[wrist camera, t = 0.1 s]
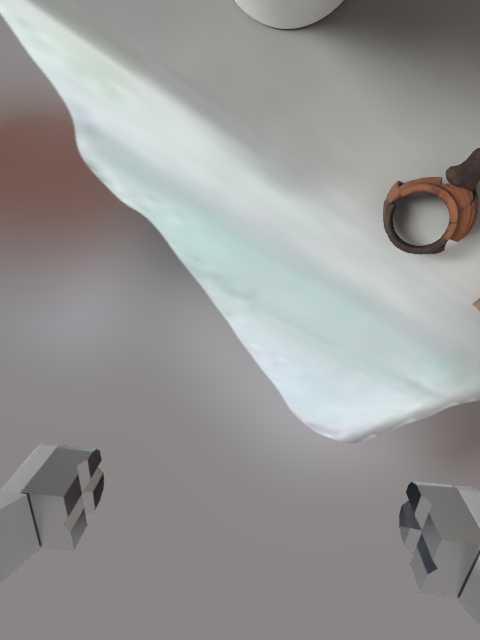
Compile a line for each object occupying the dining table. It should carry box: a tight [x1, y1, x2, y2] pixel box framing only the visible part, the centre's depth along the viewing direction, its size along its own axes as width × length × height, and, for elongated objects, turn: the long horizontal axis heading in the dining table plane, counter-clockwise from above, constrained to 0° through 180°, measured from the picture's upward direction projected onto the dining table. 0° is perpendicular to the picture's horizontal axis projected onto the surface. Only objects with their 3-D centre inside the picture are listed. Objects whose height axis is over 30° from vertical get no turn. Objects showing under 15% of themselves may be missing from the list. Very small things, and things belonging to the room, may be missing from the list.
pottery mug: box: [383, 148, 480, 254], centre depth 40 cm, size 12×10×8 cm
